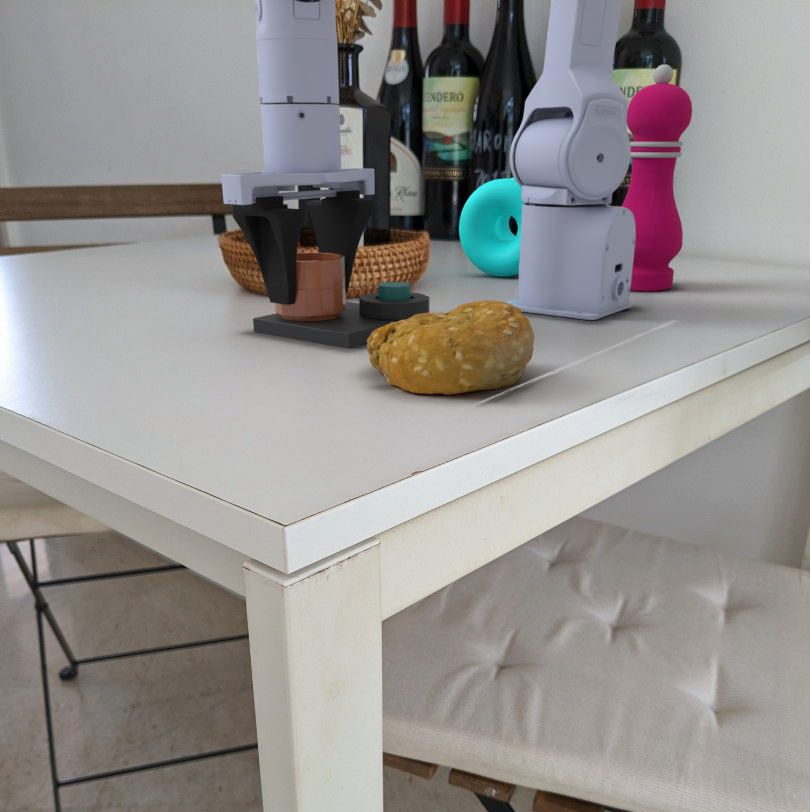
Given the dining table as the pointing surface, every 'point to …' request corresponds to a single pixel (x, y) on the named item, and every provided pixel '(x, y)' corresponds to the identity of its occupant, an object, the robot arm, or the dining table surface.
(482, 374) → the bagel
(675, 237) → the pepper mill
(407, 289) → the button
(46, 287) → the dining table surface
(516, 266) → the donuts
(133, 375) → the dining table surface
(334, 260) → the cup
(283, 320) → the scale
